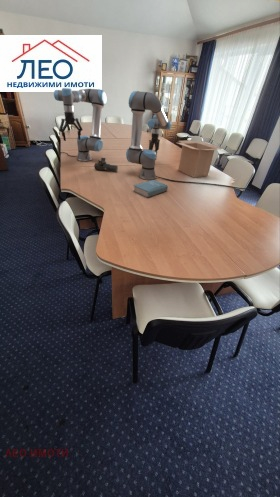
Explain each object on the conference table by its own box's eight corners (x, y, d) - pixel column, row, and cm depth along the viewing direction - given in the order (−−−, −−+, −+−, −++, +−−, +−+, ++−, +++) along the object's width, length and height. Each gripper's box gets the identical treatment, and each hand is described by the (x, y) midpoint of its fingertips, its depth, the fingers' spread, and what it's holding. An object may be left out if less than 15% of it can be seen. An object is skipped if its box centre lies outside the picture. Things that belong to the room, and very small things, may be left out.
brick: (152, 158, 245) (153, 150, 240) (156, 160, 242) (157, 151, 237) (149, 159, 243) (150, 150, 237) (152, 160, 239) (153, 151, 234)
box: (220, 177, 217) (229, 148, 201) (192, 181, 203) (199, 150, 187) (192, 165, 247) (198, 138, 231) (166, 167, 233) (170, 139, 217)
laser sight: (115, 173, 209) (115, 162, 203) (92, 170, 212) (92, 159, 206) (118, 170, 216) (118, 159, 211) (96, 167, 219) (95, 157, 213)
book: (152, 185, 190) (153, 179, 187) (167, 191, 181) (167, 185, 178) (133, 191, 176) (133, 185, 173) (147, 198, 167) (148, 191, 164)
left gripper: (80, 111, 188) (83, 138, 201) (52, 111, 175) (56, 140, 188) (85, 112, 184) (87, 139, 197) (56, 112, 171) (60, 142, 183)
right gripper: (159, 132, 234) (156, 155, 248) (146, 132, 224) (144, 157, 238) (164, 133, 230) (161, 156, 243) (151, 134, 220) (149, 158, 233)
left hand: (72, 140), depth 192 cm, fingers open, 13 cm apart
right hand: (153, 156), depth 240 cm, fingers closed on brick, 5 cm apart
